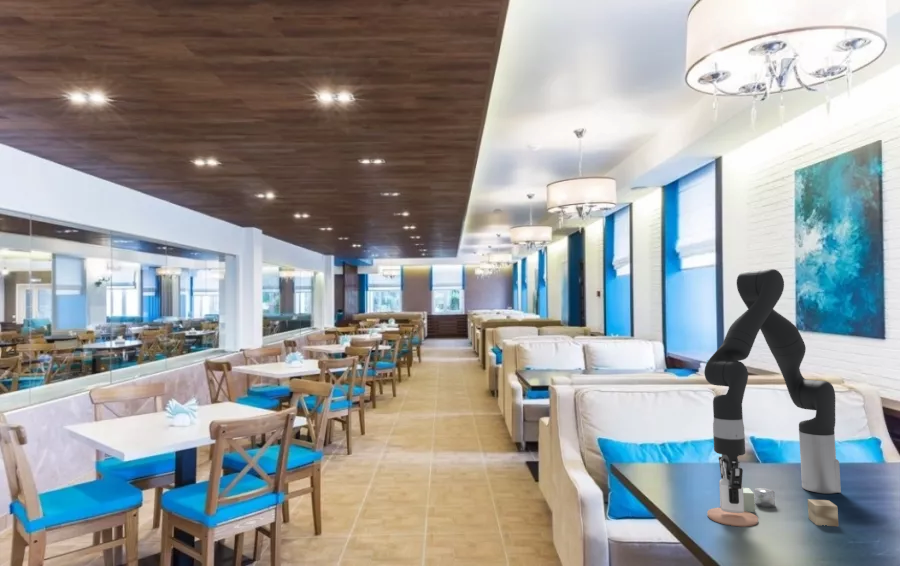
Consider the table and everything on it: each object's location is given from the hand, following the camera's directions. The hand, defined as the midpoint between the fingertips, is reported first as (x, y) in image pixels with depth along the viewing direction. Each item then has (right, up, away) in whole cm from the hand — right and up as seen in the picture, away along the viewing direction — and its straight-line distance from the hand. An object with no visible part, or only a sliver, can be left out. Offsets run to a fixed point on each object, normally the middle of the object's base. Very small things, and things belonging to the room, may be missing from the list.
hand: (731, 500), depth 148 cm
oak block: (+22, -4, -4) cm, 22 cm away
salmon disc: (0, -5, 0) cm, 5 cm away
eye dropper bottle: (0, -3, 0) cm, 3 cm away
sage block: (+7, -5, +7) cm, 11 cm away
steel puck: (+14, -5, +10) cm, 18 cm away
